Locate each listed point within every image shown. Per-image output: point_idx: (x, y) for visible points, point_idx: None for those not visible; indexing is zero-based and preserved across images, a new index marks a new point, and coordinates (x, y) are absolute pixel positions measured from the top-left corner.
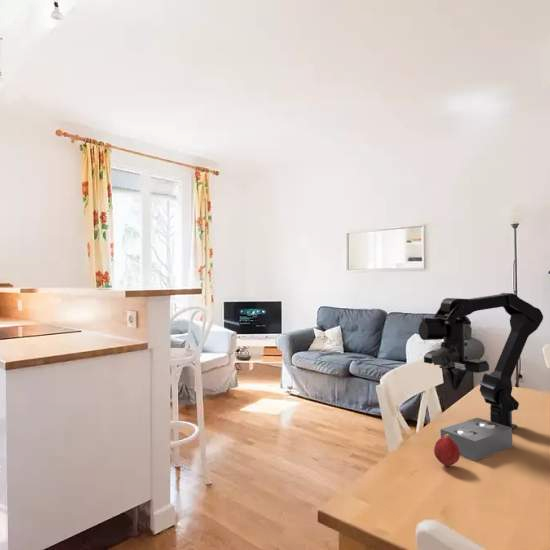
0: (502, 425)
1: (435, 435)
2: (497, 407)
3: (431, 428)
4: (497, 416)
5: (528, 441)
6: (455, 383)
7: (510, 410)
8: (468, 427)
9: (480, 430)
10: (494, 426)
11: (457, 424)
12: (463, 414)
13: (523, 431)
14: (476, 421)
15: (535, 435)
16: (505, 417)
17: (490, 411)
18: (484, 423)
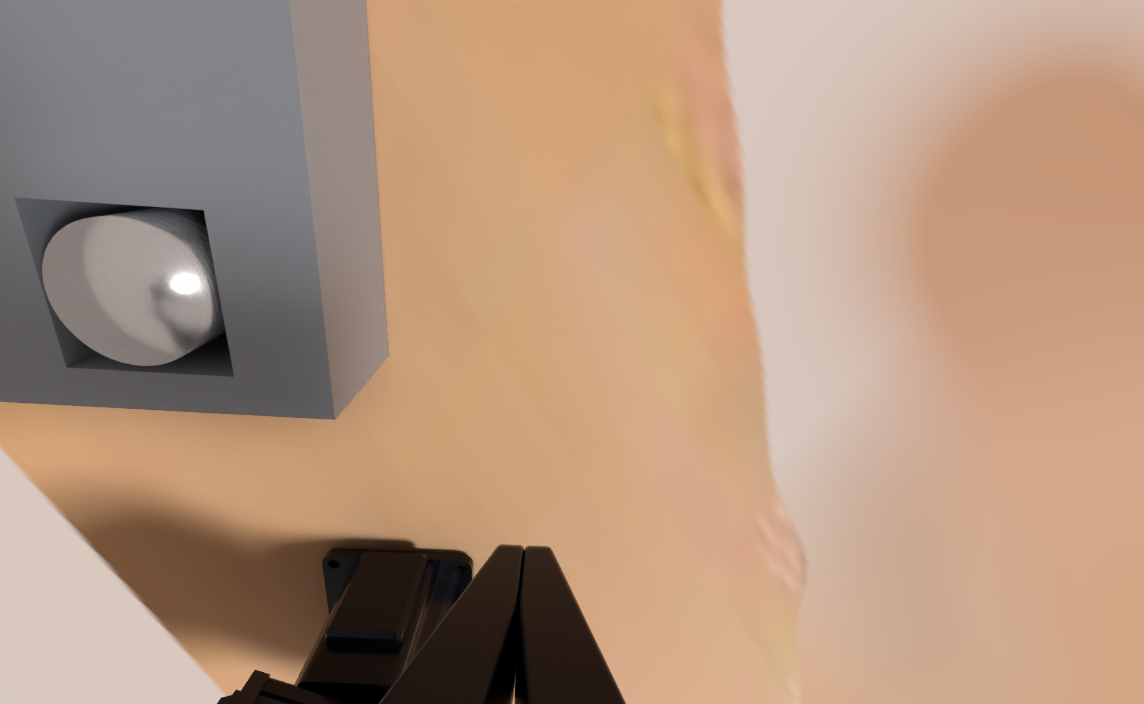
0: (61, 392)
1: (575, 47)
2: (343, 700)
3: (692, 183)
4: (343, 613)
5: (145, 495)
6: (444, 647)
7: (225, 700)
8: (140, 36)
9: (8, 57)
10: (57, 303)
11: (277, 25)
12: (680, 619)
13: (279, 615)
14: (255, 307)
15: (201, 606)
16: (317, 643)
17: (407, 645)
18: (146, 291)
